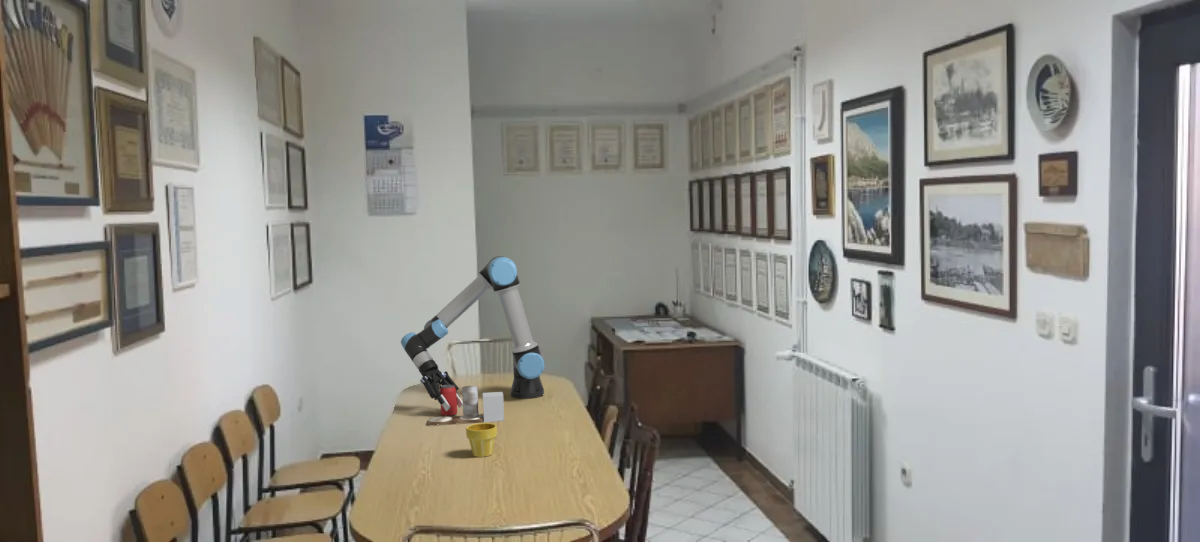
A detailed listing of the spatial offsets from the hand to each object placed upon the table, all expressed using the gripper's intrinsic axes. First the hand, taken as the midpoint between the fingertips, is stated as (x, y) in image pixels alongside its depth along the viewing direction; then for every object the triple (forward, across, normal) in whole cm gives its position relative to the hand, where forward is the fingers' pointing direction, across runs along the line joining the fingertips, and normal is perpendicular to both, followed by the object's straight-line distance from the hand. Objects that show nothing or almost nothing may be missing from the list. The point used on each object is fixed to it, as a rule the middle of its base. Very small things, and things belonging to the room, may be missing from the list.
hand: (454, 407), depth 352 cm
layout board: (+7, +6, +2) cm, 10 cm away
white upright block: (+15, -4, +10) cm, 18 cm away
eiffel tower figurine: (-24, -27, -31) cm, 47 cm away
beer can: (0, 0, -5) cm, 5 cm away
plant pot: (+38, +36, +33) cm, 62 cm away
